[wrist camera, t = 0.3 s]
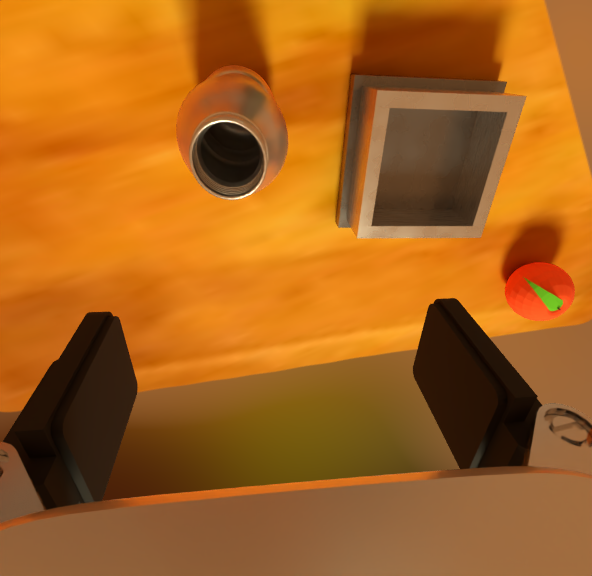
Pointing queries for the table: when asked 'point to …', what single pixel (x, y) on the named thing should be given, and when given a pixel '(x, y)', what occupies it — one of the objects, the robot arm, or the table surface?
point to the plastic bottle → (232, 133)
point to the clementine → (539, 291)
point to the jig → (423, 155)
